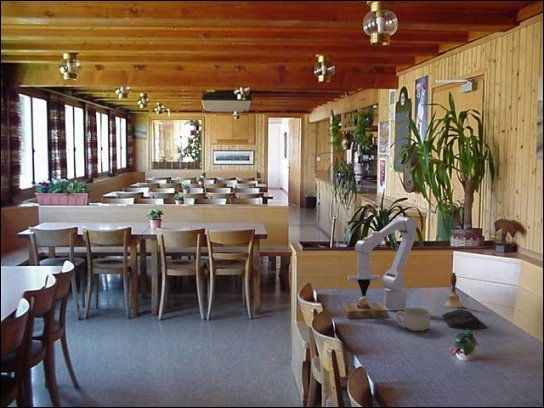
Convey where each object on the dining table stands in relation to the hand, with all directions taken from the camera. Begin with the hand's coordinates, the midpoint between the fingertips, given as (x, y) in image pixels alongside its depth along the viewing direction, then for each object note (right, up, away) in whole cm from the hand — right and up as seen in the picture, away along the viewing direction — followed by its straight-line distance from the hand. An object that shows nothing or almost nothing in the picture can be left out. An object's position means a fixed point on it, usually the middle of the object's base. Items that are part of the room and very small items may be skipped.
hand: (363, 295), depth 274 cm
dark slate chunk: (+41, -10, -16) cm, 45 cm away
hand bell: (+45, -7, +10) cm, 46 cm away
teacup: (+17, -10, -25) cm, 32 cm away
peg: (0, -8, +1) cm, 8 cm away
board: (0, -8, +1) cm, 8 cm away
